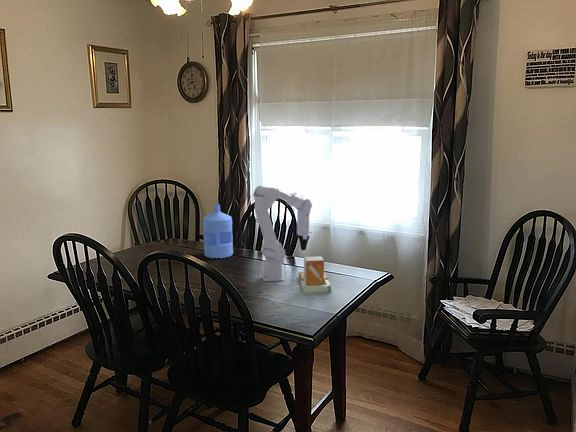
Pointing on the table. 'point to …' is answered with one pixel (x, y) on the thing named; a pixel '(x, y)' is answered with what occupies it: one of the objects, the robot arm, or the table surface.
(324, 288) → the tray
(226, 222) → the water jug
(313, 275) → the small box
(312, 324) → the table surface
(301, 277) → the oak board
